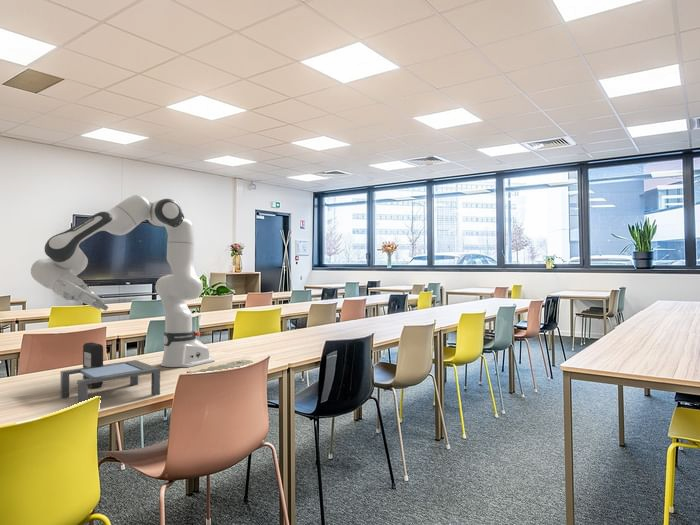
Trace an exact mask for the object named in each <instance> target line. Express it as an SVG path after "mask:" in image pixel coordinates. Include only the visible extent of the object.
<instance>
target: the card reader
mask: <svg viewBox="0 0 700 525" xmlns="http://www.w3.org/2000/svg"><path fill="white" fill-rule="evenodd" d="M82 347H83V348H82V368H85V367H92V366H99V365H104V346H103V345H102V344H99V343H96V342H92V341H91V342H85V343H84V344H83V345H82ZM83 379H89V377H87V376H85V375H83V374H82V380H83ZM103 384H104V381H103V382H97V383H91V384H87V387H90V388H93V389H94V388H95V389H97V388H101V387H102V386H103Z"/></svg>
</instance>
